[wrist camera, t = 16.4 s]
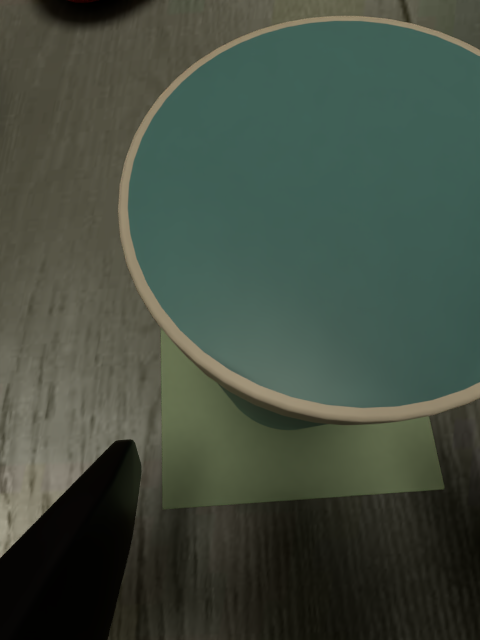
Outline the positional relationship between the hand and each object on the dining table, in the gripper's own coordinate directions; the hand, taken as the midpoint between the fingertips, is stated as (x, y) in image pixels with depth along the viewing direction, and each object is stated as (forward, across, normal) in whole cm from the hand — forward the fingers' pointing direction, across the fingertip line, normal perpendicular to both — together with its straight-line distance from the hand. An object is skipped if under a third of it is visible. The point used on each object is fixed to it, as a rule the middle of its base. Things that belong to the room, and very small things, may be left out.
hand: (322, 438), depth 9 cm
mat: (+7, 0, +3) cm, 8 cm away
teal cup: (+7, 0, +2) cm, 7 cm away
